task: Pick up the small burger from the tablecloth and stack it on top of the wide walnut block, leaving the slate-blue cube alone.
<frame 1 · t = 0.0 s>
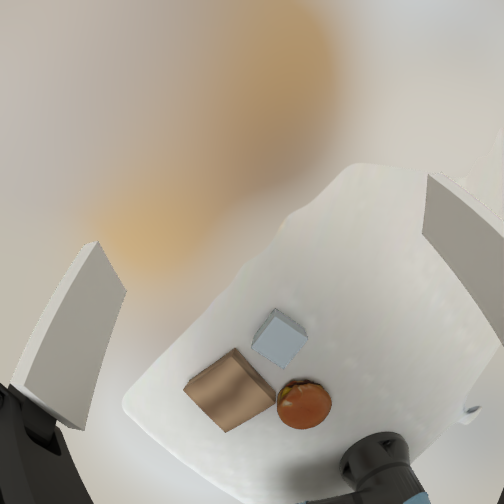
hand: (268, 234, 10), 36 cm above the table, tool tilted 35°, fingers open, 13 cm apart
burger: (302, 399, 46), on the table
slate cube: (279, 332, 46), on the table
walnut block: (232, 386, 47), on the table
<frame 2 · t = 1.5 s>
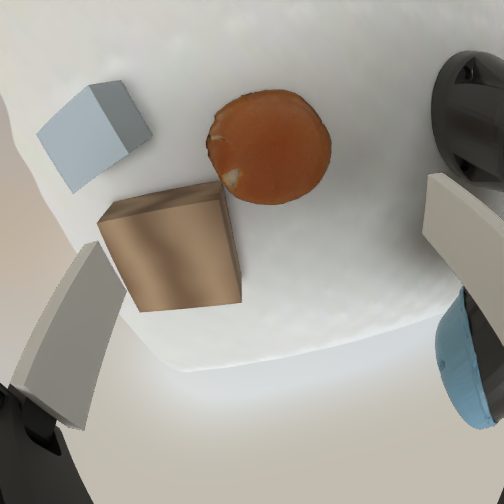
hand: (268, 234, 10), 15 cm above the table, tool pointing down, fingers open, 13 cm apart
burger: (267, 142, 23), on the table
slate cube: (110, 125, 21), on the table
walnut block: (179, 238, 29), on the table
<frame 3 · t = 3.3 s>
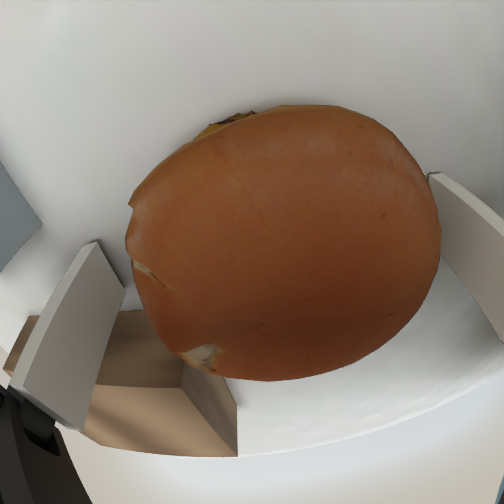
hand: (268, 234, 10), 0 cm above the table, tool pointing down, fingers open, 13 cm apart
burger: (282, 227, 11), on the table
walnut block: (137, 367, 16), on the table
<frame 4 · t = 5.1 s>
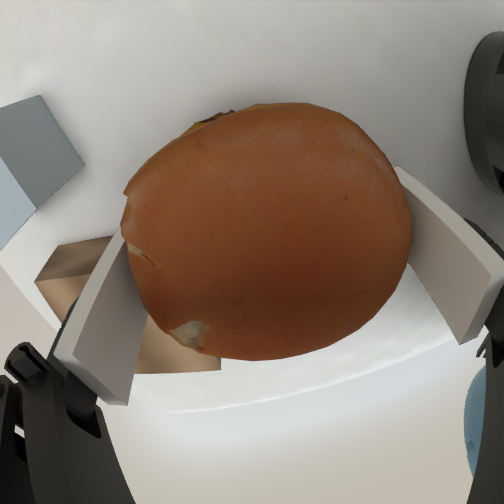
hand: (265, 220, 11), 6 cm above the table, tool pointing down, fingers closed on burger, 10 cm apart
burger: (266, 217, 12), point 6 cm above the table, touching gripper
slate cube: (35, 156, 14), on the table
walnut block: (141, 289, 22), on the table
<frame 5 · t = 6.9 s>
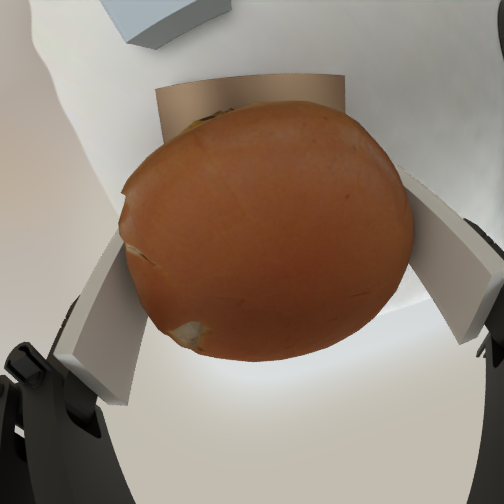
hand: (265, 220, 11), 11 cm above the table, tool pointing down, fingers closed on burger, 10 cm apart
burger: (265, 216, 11), point 11 cm above the table, touching gripper
walnut block: (253, 145, 21), on the table
when the fingers open (5 cm above the table, at t = 8.9 s): burger stays where it is, resting on walnut block.
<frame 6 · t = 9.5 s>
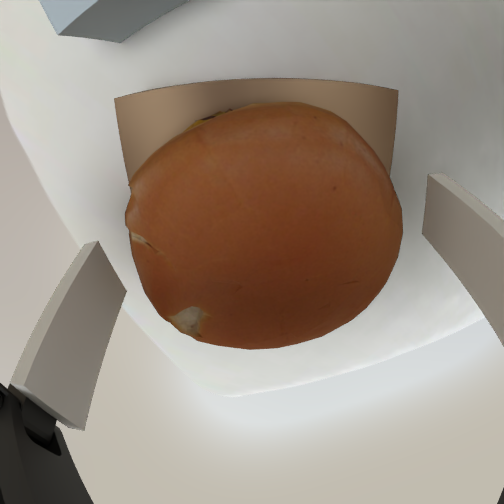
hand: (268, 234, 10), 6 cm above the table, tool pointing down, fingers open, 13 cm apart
burger: (263, 211, 12), point 4 cm above the table, touching walnut block
walnut block: (257, 176, 16), on the table, touching burger
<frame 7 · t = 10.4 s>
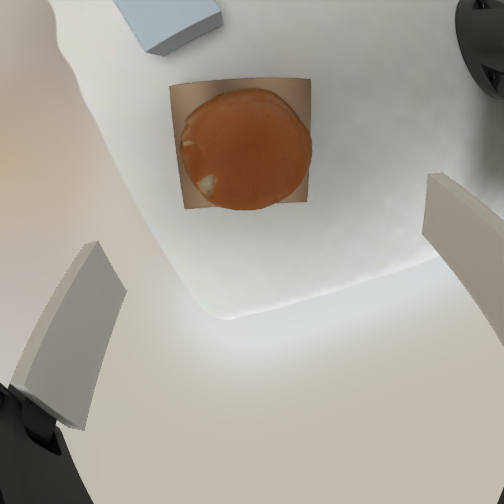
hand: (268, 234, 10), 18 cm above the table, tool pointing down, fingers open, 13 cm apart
burger: (244, 144, 22), point 4 cm above the table, touching walnut block
slate cube: (178, 16, 18), on the table
walnut block: (241, 133, 26), on the table, touching burger
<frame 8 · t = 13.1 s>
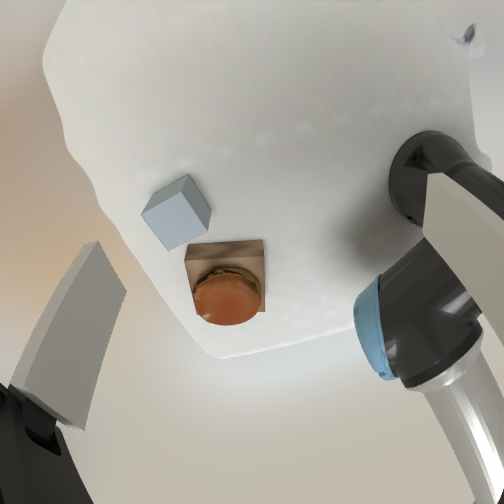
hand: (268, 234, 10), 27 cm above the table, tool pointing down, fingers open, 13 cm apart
burger: (227, 287, 42), point 4 cm above the table, touching walnut block
slate cube: (181, 201, 38), on the table
walnut block: (228, 269, 46), on the table, touching burger
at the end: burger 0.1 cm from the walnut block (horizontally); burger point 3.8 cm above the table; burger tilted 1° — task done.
